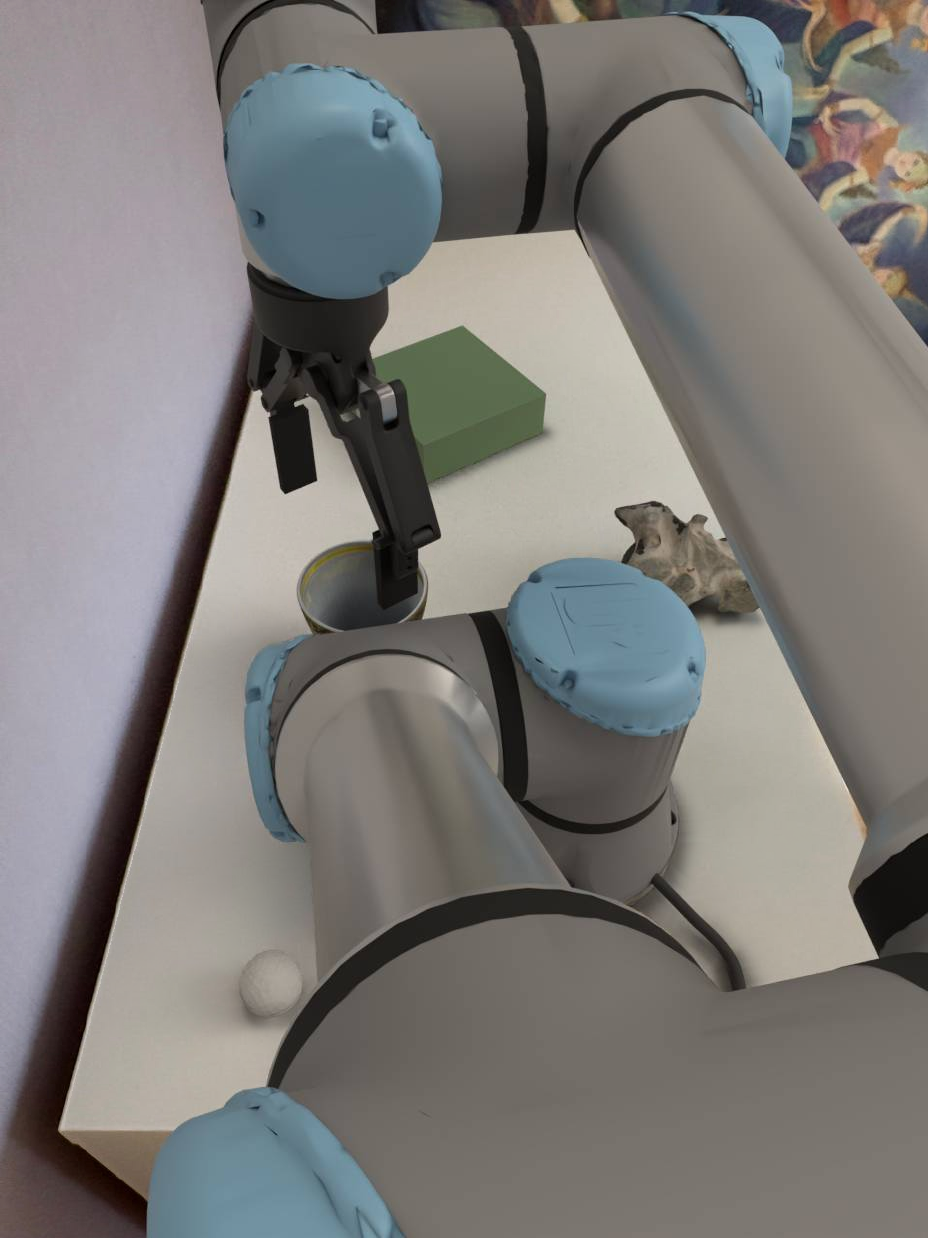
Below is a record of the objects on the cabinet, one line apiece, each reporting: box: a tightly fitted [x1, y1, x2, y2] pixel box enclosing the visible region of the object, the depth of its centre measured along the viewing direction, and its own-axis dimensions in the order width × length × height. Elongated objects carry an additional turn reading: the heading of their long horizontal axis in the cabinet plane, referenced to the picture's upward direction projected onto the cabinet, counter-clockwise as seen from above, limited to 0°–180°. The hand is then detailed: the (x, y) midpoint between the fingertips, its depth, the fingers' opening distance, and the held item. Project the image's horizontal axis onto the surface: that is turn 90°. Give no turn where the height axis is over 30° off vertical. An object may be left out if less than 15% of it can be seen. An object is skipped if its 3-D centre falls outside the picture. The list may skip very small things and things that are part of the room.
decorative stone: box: [613, 500, 760, 614], centre depth 84 cm, size 16×9×10 cm
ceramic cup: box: [296, 539, 429, 635], centre depth 76 cm, size 13×10×10 cm
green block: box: [350, 325, 547, 484], centre depth 101 cm, size 15×15×5 cm
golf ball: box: [238, 949, 304, 1018], centre depth 61 cm, size 4×4×4 cm
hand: (345, 539), depth 67 cm, fingers open, 13 cm apart
